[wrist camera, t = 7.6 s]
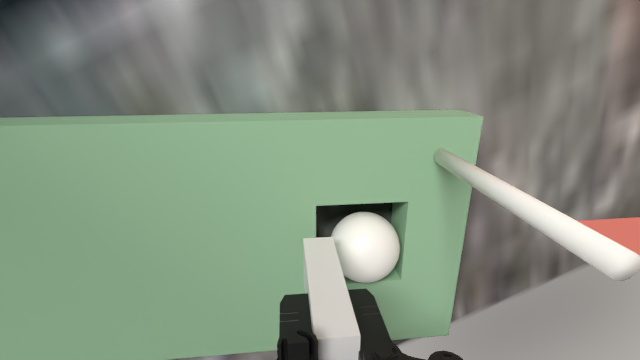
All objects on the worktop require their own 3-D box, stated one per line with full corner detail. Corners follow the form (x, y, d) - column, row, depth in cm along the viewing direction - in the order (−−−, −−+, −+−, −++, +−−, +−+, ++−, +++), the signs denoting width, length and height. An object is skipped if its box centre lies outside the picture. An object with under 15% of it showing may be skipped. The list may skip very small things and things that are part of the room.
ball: (316, 275, 20) (366, 308, 17) (313, 214, 19) (366, 239, 16) (362, 251, 23) (412, 277, 20) (362, 196, 21) (416, 214, 18)
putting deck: (-30, 344, 21) (-423, 701, 9) (-130, 119, 16) (-1178, 269, 5) (445, 307, 24) (600, 541, 12) (475, 109, 19) (770, 183, 8)
